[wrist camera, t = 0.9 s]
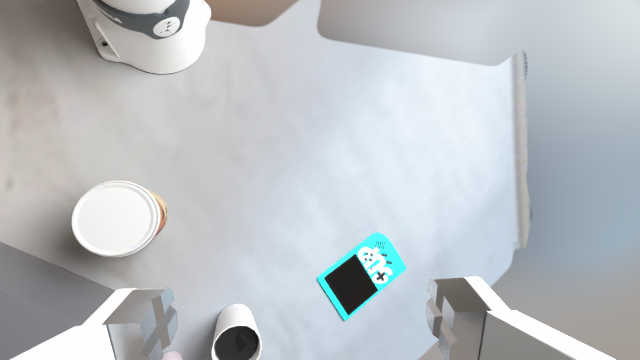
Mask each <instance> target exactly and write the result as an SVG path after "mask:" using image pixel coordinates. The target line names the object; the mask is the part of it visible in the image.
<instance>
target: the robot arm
mask: <svg viewBox="0 0 640 360" xmlns="http://www.w3.org/2000/svg"><path fill="white" fill-rule="evenodd" d="M76 1H77V2H78V5H79V7H80V9H81V12H82V14H83V16H84V19H85V21H86V23H87V25H88V28H89V30H90V32H91V35H92V37H93V39H94V42H95V44H96V46H97V49H98V51H99V53H100V55H101V56H102V57H103V58H104V59H106V60H108V61H113V62H123V63H127V64H130V65H132V66H134V67H136V68H138V69H140V70H143V71H146V72H150V73H156V74H169V73H175V72H178V71H181V70H183V69H185V68H187V67H189V66H190V65H192V64H193V63H194V62H195V61H196V60H197V59H198V57H199V56H200V54H201V52H202V50H203V47H204V43H205V28H206V25H207V24H208V22H209V20H210V17H211V10H210V7H209V6H208V5H207V3H206V2H205V1H204V0H76ZM104 43H108V45H107V46H103V44H104ZM428 292H429V294H430V295H431V298H430V299H429V300H428V302H427V305H426V315H427V322H428V325H429V328H430V330H431V332H432V334H433V335H434V336H435V337H437V338H438V339H439V348H440V351H441V352H442V354H443V356H444V359H445V360H616V359H614V358H612V357H610V356H608V355H606V354H604V353H602V352H599V351H598V350H595V349H593V348H591V347H589V346H587V345H585V344H583V343H581V342H579V341H577V340H575V339H573V338H571V337H569V336H567V335H565V334H563V333H561V332H559V331H557V330H555V329H553V328H551V327H549V326H547V325H545V324H543V323H541V322H539V321H537V320H535V319H532V318H530V317H528V316H526V315H524V314H522V313H520V312H518V311H516V310H514V311H513V310H510V309H509V308H508V307H507V306H506V305H505V304H504V303H503V302H502V300H501V299H500V298H499V297H498V296H497V295H496V294H495V293H494V292H493V290H491V288H490V287H489V286H488V285H487V284H486V283H485V282H484V281H483V279H482V278H480V277H478V276H474V277H462V278H445V279H430V281H429V283H428ZM173 300H174V296H173V292H172V290H171V289H170V288H122V289H119V290H116V291H115V292H114V293H113V294H112V295H111V296H110V297H109V298H108V299H107V300H106V301H105V302H104V303H103V304H102V305H101V306H100V307H99V308H98V309H97V310H96V311H95V312H94V313H93V314H92V315H91V316H90V317H89V318H88V319H87V320H86V321H85V322H84V323H83V324H82V325H81V326H75V327H73V328H71V329H69V330H67V331H65V332H63V333H61V334H59V335H57V336H55V337H53V338H51V339H49V340H47V341H45V342H43V343H41V344H39V345H37V346H35V347H33V348H32V349H30V350H28V351H26V352H24V353H22V354H20V355H18V356H16V357H14V358H12V359H10V360H162V358H163V352H162V350H163V349H165V348H166V347H167V346H169V345H170V344H171V342H172V340H173V339H174V337H175V333H176V330H177V322H178V318H177V312H176V310H175V309H174V308H172V307H171V306H170V305H171V303H172V302H173Z"/></svg>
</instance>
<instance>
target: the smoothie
mask: <svg viewBox="0 0 640 360" xmlns="http://www.w3.org/2000/svg"><path fill="white" fill-rule="evenodd" d="M162 360H183V358H182V356H181V355H180V354H179V353H178V352H175V351H170V352H167V353H165V354H163V358H162Z"/></svg>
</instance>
